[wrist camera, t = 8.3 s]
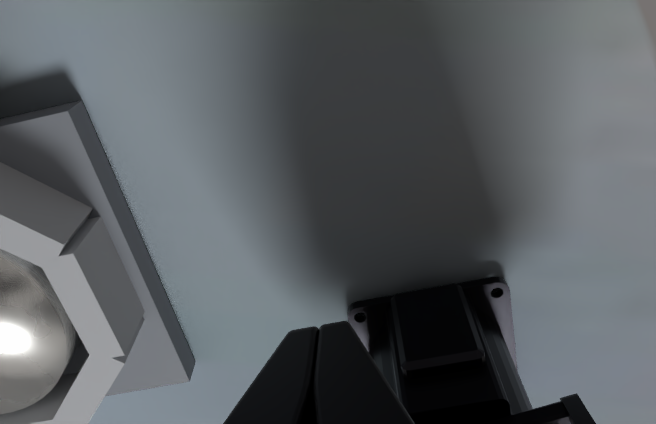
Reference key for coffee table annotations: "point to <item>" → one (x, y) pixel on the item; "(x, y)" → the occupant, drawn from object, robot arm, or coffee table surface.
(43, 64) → the coffee table surface
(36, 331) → the dial
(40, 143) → the dial panel
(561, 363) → the coffee table surface
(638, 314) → the coffee table surface
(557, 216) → the coffee table surface
